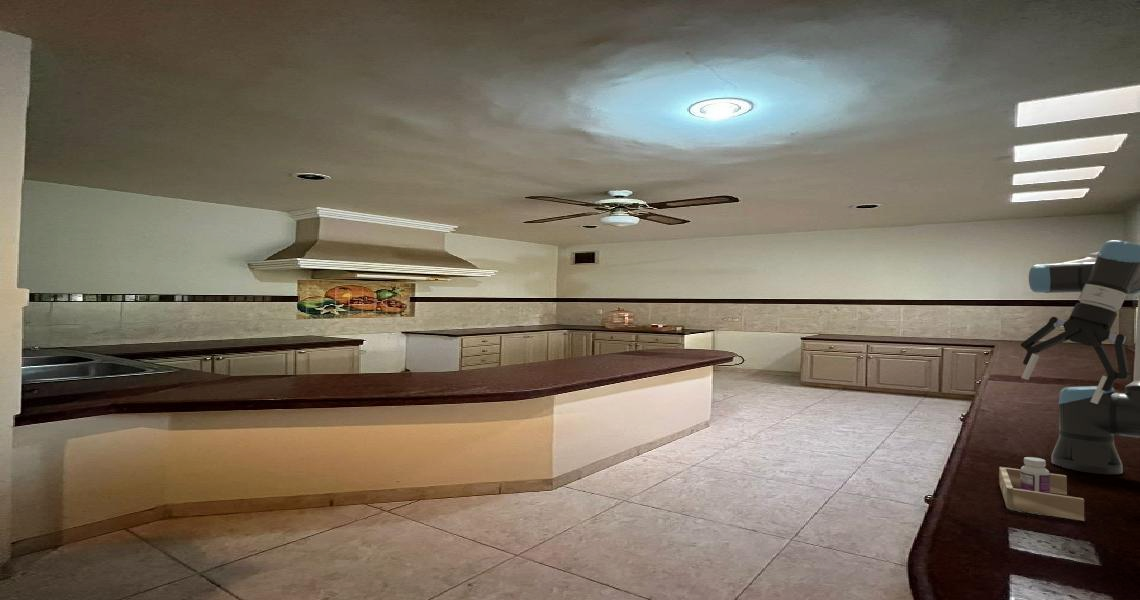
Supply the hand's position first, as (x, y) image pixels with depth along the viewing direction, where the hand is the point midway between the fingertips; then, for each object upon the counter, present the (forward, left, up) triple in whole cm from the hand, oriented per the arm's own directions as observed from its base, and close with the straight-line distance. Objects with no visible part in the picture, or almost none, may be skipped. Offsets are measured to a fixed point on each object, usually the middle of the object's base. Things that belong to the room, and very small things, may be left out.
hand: (1057, 390), depth 135 cm
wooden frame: (+5, -4, -25) cm, 26 cm away
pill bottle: (+5, -5, -26) cm, 27 cm away
